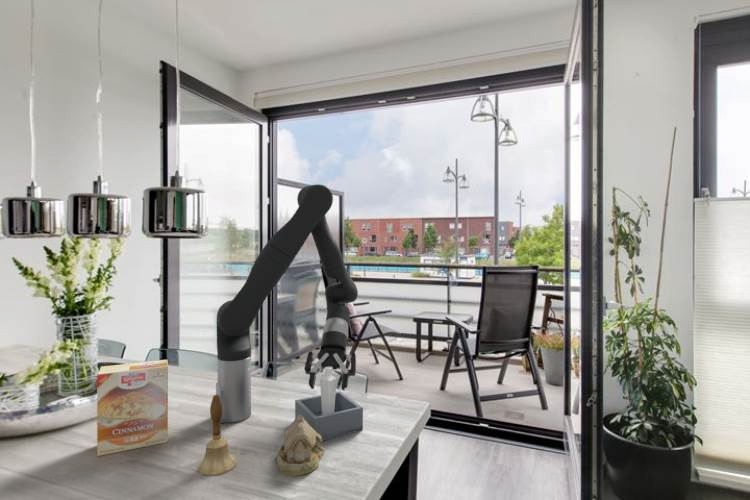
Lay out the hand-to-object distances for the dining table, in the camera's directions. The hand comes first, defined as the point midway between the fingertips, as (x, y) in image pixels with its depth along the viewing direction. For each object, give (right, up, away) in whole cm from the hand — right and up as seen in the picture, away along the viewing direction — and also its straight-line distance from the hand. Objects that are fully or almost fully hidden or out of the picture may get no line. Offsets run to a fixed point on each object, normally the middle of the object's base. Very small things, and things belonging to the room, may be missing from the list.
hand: (327, 388), depth 112 cm
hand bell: (-23, -11, -19) cm, 32 cm away
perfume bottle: (0, -10, +2) cm, 10 cm away
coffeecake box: (-47, -11, -9) cm, 49 cm away
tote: (0, -11, +1) cm, 11 cm away
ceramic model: (-4, -12, -16) cm, 20 cm away
